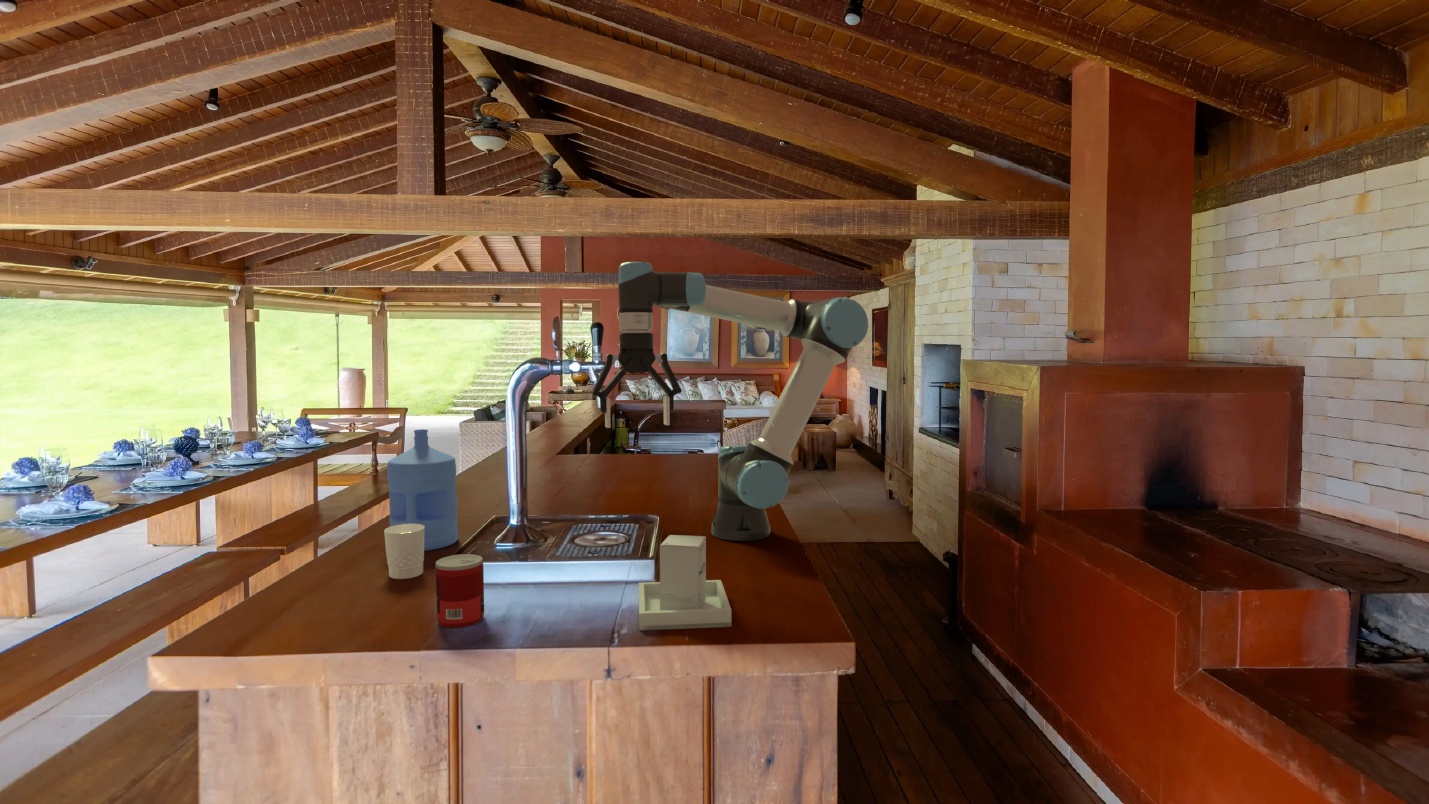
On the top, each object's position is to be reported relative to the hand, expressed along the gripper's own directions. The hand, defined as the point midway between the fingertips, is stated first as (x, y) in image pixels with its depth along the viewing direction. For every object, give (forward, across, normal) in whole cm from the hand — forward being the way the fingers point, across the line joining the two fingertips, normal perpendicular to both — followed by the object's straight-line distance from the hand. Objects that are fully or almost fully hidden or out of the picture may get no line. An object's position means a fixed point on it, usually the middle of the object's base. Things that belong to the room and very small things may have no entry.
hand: (637, 426), depth 166 cm
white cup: (+30, -50, +3) cm, 59 cm away
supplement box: (+30, 0, -36) cm, 47 cm away
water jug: (+30, -48, +27) cm, 63 cm away
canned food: (+30, -38, -28) cm, 56 cm away
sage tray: (+30, 0, -36) cm, 47 cm away
